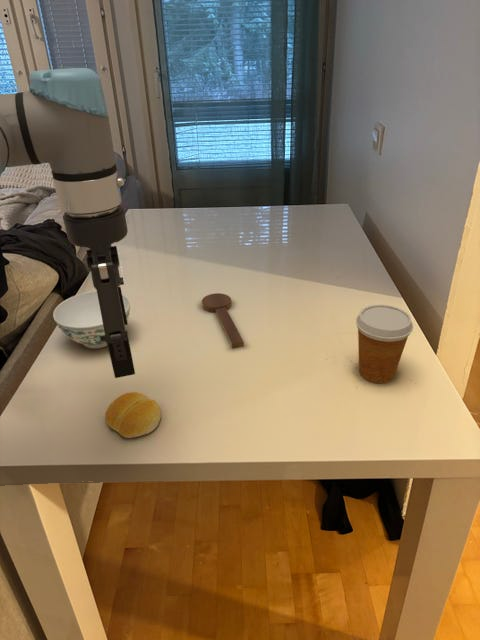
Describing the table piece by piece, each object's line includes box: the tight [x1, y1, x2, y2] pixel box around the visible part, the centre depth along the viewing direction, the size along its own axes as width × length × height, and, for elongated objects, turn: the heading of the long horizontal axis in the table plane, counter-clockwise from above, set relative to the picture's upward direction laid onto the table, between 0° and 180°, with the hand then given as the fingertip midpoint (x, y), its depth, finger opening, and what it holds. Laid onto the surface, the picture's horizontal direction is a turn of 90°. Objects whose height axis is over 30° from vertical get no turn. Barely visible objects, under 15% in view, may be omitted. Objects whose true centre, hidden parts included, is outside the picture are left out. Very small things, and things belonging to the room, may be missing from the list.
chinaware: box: [52, 290, 131, 349], centre depth 96 cm, size 15×15×8 cm
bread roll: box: [104, 391, 162, 439], centre depth 76 cm, size 8×9×4 cm
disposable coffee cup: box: [355, 304, 414, 384], centre depth 83 cm, size 10×10×12 cm
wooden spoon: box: [201, 292, 244, 349], centre depth 103 cm, size 7×22×1 cm, turn 16°
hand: (121, 348), depth 69 cm, fingers open, 13 cm apart
